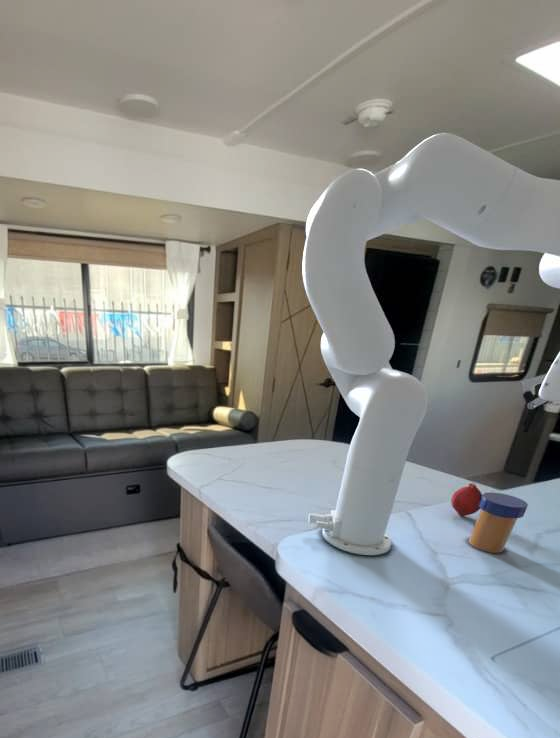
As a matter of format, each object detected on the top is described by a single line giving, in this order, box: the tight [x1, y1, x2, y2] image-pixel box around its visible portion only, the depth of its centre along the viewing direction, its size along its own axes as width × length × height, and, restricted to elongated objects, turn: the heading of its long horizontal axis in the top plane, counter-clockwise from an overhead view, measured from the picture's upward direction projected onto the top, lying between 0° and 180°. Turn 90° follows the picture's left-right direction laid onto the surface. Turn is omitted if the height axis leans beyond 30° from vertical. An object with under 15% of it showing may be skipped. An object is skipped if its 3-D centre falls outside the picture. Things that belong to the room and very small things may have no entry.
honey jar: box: [468, 508, 518, 554], centre depth 77 cm, size 6×6×10 cm
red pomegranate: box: [450, 482, 483, 517], centre depth 90 cm, size 6×6×8 cm
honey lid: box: [479, 492, 529, 519], centre depth 76 cm, size 7×7×2 cm
